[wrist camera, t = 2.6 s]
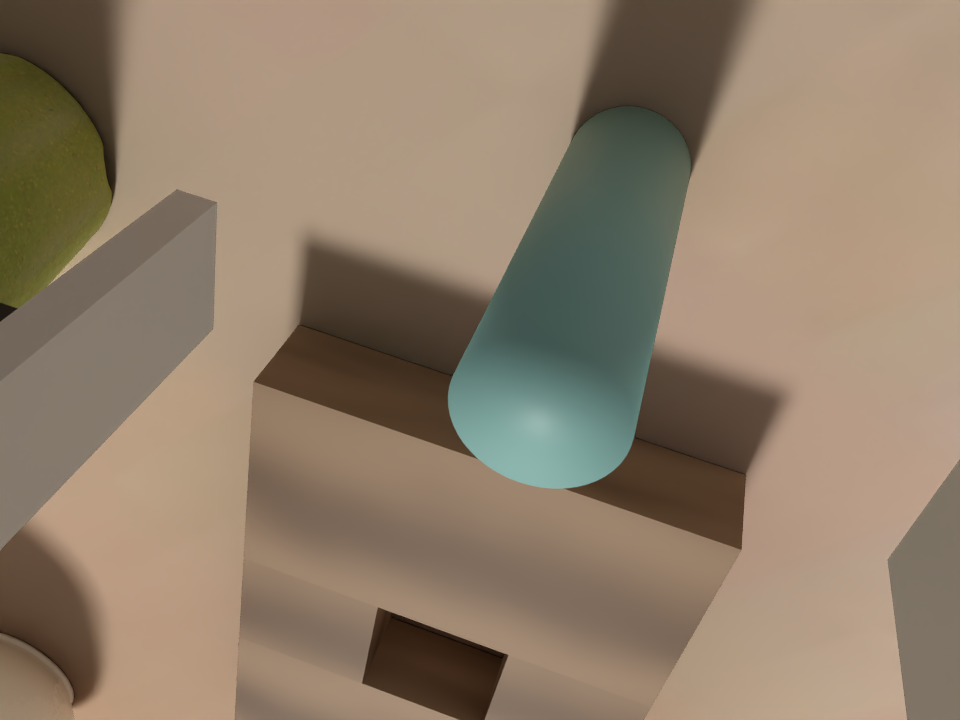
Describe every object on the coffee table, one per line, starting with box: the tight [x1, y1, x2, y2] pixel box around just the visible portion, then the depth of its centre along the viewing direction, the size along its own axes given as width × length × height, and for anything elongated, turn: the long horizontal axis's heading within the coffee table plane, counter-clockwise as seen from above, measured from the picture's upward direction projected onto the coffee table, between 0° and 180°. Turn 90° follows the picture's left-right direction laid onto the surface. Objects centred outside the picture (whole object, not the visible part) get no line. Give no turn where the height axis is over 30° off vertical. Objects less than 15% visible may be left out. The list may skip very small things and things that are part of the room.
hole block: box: [235, 325, 746, 720], centre depth 32 cm, size 20×14×3 cm
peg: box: [448, 106, 691, 489], centre depth 18 cm, size 3×3×10 cm
